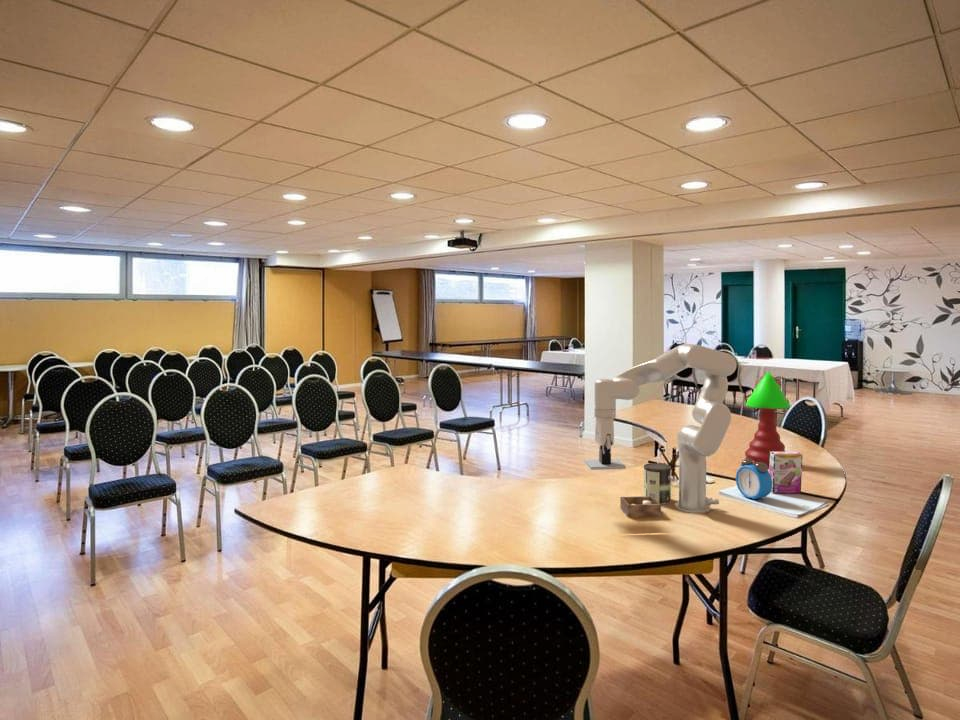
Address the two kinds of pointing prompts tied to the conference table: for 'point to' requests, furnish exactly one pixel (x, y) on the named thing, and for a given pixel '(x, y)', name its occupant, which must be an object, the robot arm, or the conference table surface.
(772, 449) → the table lamp
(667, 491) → the coffee can
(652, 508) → the box
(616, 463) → the lid
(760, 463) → the alarm clock
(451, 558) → the conference table surface
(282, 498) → the conference table surface
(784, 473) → the candy bar box
